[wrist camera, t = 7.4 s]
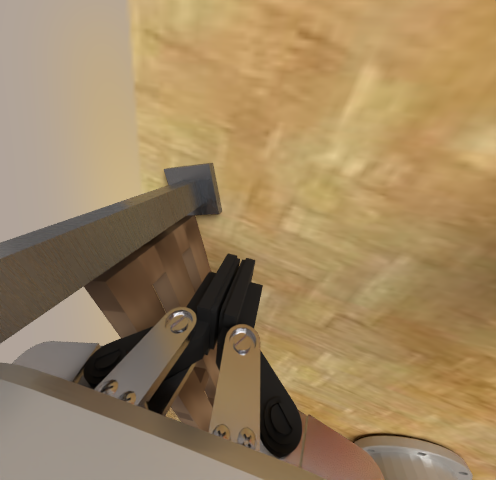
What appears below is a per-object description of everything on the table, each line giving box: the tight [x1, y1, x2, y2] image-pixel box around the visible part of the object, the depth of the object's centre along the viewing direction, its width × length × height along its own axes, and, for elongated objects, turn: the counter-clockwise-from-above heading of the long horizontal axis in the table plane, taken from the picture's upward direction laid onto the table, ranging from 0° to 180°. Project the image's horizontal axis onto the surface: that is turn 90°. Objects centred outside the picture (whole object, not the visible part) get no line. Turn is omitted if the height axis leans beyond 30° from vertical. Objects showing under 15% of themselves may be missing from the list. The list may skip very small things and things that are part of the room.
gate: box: [84, 215, 219, 432], centre depth 13 cm, size 16×1×6 cm, turn 8°
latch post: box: [0, 163, 222, 343], centre depth 8 cm, size 5×3×12 cm
